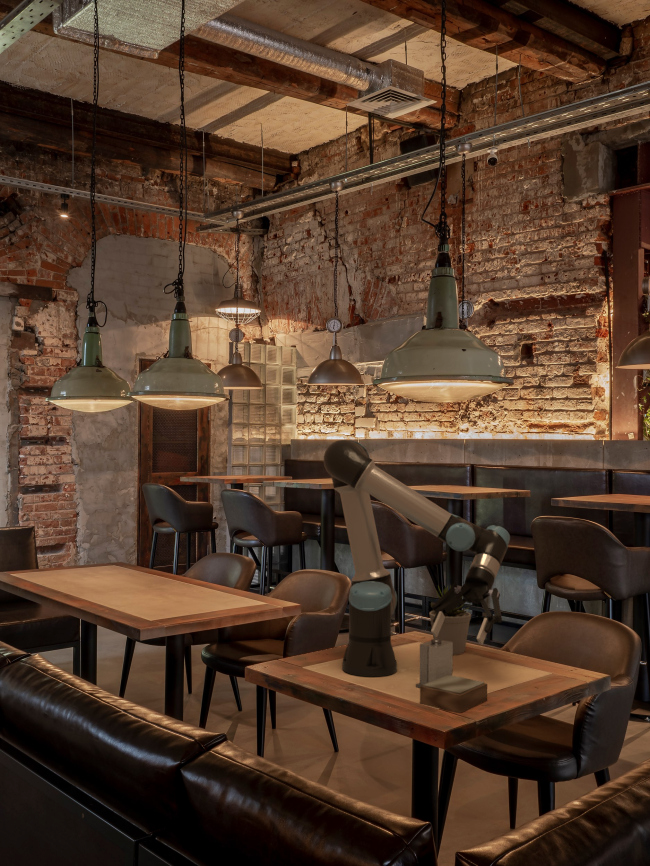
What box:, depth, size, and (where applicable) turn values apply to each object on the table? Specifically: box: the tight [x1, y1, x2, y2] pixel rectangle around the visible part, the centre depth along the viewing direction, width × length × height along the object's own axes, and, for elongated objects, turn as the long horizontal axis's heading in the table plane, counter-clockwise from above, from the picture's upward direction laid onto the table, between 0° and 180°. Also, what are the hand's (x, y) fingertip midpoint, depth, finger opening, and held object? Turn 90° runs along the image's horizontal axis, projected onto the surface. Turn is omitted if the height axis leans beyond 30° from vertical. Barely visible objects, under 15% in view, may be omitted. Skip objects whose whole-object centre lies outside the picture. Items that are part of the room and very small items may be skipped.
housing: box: [415, 638, 454, 689], centre depth 206 cm, size 6×9×12 cm
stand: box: [419, 674, 488, 714], centre depth 193 cm, size 11×13×4 cm
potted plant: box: [429, 585, 472, 655], centre depth 244 cm, size 13×14×20 cm
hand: (456, 638), depth 211 cm, fingers open, 13 cm apart
